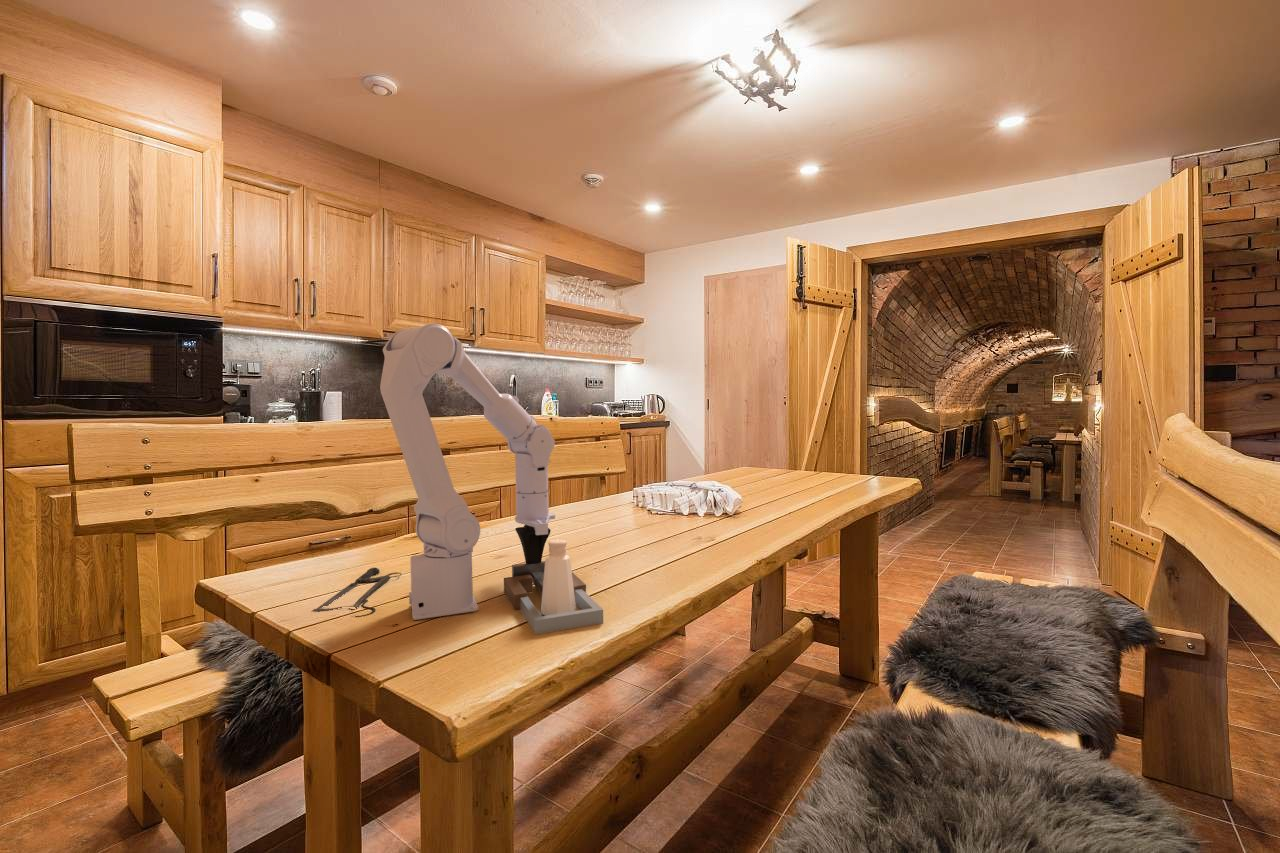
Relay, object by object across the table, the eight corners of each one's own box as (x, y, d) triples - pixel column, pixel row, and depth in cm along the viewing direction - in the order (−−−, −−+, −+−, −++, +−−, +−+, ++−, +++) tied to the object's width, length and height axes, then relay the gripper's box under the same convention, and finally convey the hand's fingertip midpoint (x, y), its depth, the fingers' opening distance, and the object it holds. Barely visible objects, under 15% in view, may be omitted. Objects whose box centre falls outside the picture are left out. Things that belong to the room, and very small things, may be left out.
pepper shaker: (539, 618, 85) (538, 545, 85) (542, 606, 91) (540, 537, 90) (575, 617, 86) (574, 544, 85) (576, 604, 91) (575, 536, 91)
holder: (514, 610, 89) (514, 594, 89) (504, 592, 98) (503, 577, 98) (586, 599, 93) (586, 584, 93) (569, 583, 102) (569, 569, 102)
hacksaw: (370, 573, 111) (370, 566, 111) (424, 572, 111) (424, 565, 111) (300, 620, 87) (299, 610, 87) (369, 619, 87) (368, 609, 87)
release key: (529, 606, 87) (529, 588, 87) (512, 580, 100) (511, 564, 100) (579, 598, 90) (579, 581, 90) (556, 574, 103) (556, 559, 103)
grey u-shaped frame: (535, 634, 79) (535, 620, 79) (520, 610, 89) (520, 597, 89) (603, 623, 83) (603, 609, 83) (581, 600, 93) (581, 588, 93)
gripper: (565, 495, 97) (566, 574, 97) (544, 485, 110) (545, 554, 111) (523, 498, 94) (524, 580, 95) (507, 487, 108) (508, 559, 108)
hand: (533, 566), depth 103 cm, fingers closed
